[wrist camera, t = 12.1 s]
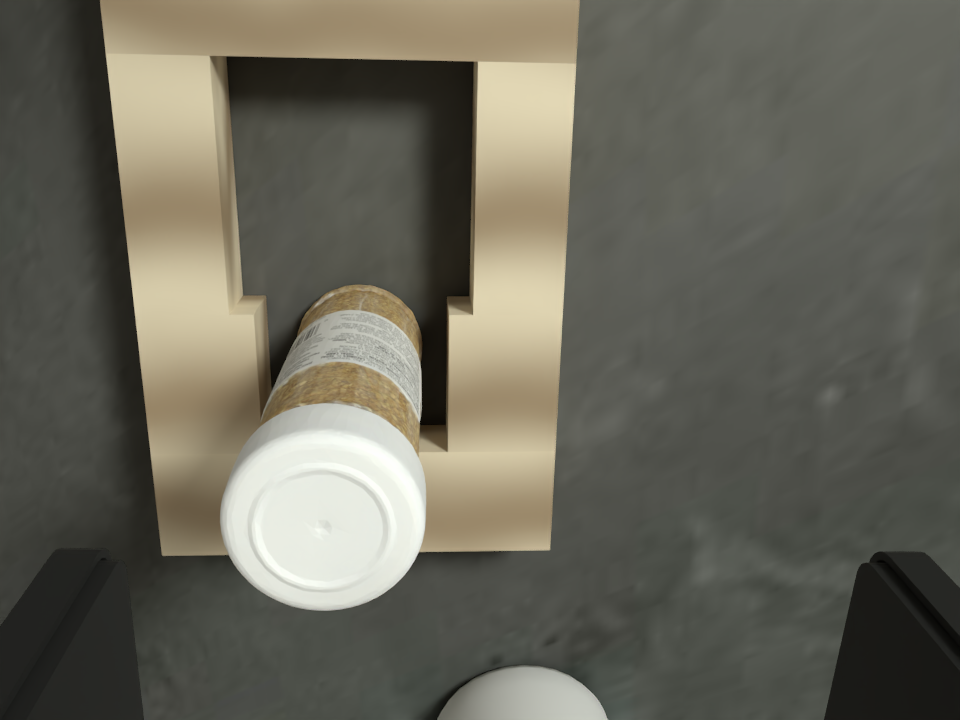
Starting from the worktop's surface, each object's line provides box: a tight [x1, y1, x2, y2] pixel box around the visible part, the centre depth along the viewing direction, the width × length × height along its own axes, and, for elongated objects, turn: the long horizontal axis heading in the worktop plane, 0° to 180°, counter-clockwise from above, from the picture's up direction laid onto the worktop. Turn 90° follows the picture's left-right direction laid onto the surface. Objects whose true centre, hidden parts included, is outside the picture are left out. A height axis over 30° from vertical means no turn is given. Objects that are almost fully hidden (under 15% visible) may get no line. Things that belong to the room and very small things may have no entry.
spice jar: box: [220, 285, 426, 611], centre depth 26 cm, size 5×5×13 cm
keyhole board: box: [100, 0, 580, 556], centre depth 30 cm, size 20×14×2 cm
